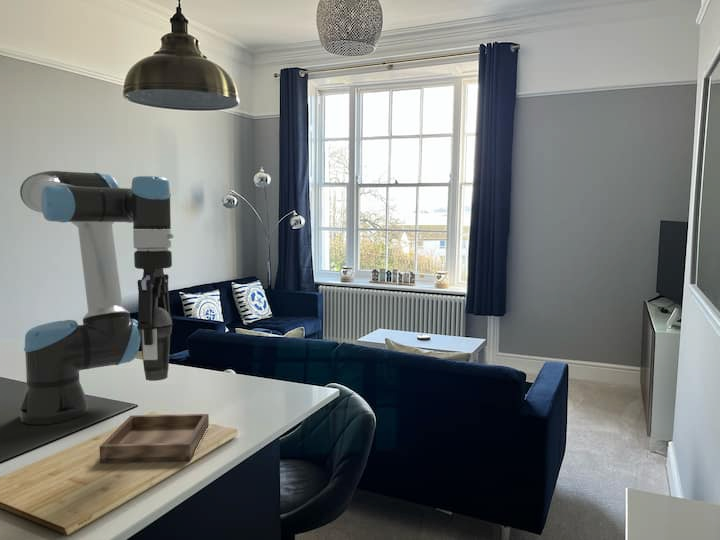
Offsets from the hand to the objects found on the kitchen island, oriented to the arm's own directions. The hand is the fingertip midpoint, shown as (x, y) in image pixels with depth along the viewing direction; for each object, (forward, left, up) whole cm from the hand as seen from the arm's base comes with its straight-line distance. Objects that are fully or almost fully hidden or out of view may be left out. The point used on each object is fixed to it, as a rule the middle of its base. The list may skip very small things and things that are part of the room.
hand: (156, 354), depth 118 cm
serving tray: (0, 0, -20) cm, 20 cm away
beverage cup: (0, 0, -5) cm, 5 cm away
